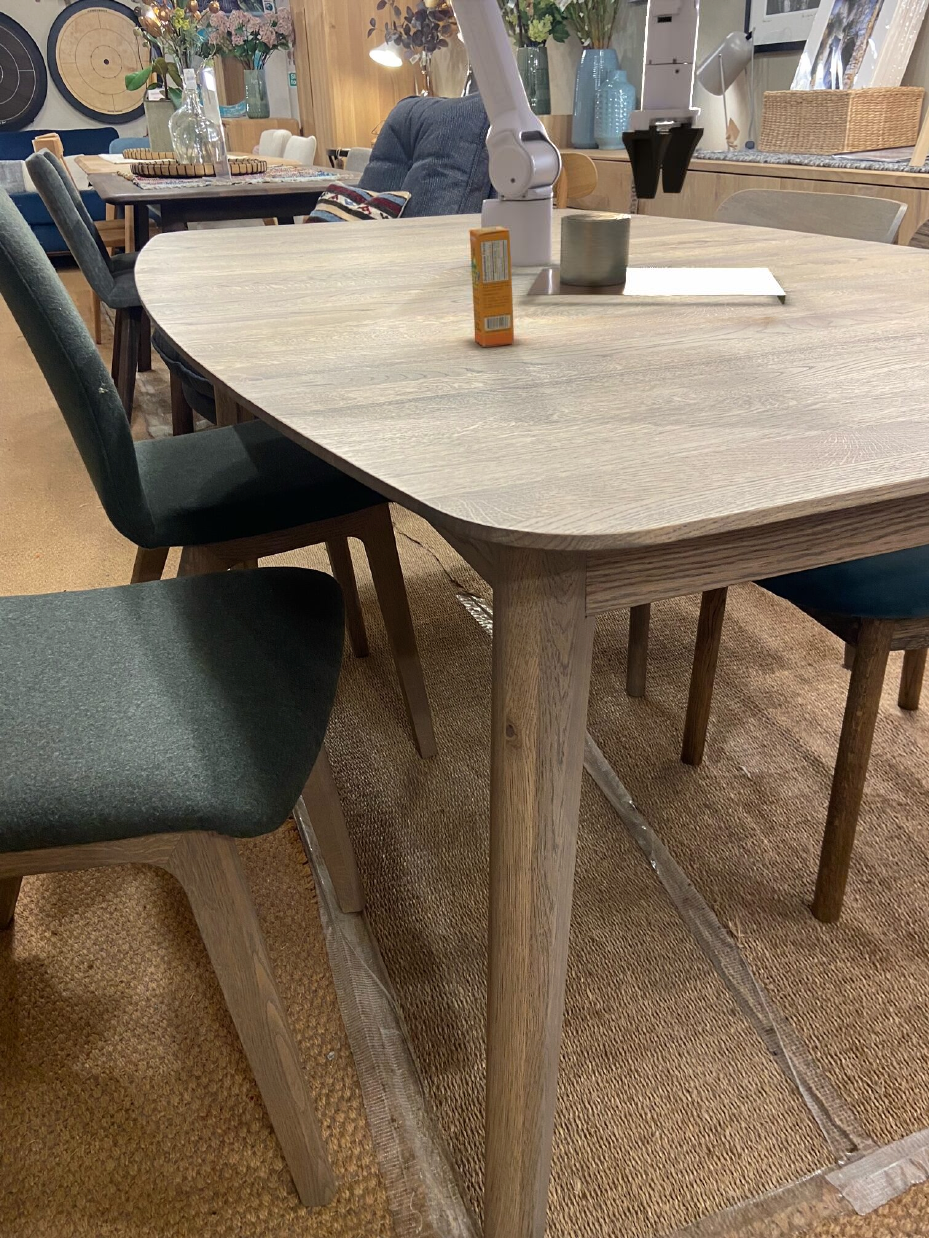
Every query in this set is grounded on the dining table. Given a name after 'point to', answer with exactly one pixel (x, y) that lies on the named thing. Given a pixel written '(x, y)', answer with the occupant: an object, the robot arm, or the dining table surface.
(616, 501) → the dining table surface
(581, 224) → the grey metal cylinder
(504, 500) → the dining table surface
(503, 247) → the supplement box
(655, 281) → the board
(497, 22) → the robot arm
